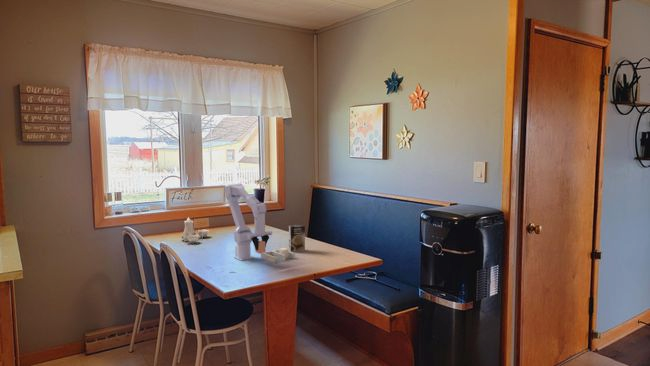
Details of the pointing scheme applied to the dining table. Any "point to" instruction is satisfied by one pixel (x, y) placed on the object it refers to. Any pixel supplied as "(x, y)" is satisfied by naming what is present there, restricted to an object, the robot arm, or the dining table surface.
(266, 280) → the dining table surface
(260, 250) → the terracotta block
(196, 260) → the dining table surface
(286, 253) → the cream block
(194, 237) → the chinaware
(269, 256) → the slot rack
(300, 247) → the coffee box
